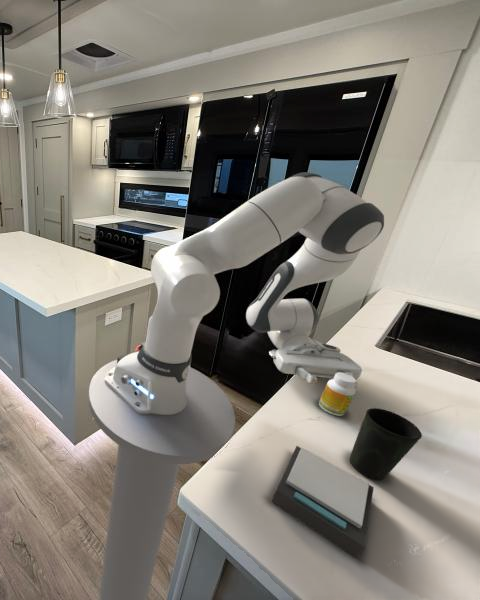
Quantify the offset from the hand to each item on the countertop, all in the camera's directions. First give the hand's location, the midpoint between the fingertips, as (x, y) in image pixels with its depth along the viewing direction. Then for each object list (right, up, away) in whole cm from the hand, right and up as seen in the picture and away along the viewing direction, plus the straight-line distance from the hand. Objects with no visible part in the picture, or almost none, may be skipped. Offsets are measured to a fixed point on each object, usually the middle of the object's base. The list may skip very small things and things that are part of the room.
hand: (333, 383), depth 78 cm
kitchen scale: (-21, -15, -22) cm, 34 cm away
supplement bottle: (-1, -7, 0) cm, 7 cm away
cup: (-6, -13, -15) cm, 21 cm away
